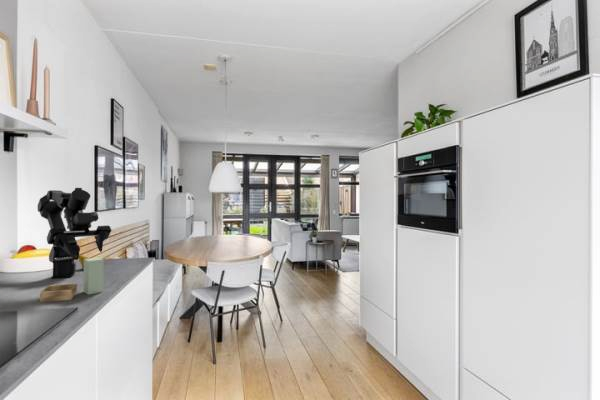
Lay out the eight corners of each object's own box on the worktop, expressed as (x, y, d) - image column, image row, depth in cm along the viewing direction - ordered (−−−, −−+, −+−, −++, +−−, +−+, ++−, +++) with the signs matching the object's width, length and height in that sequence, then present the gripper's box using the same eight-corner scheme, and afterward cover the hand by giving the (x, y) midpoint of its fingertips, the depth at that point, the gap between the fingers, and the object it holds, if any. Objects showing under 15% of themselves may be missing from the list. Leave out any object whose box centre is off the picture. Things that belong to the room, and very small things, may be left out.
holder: (40, 302, 96) (40, 292, 96) (48, 294, 104) (48, 285, 104) (71, 299, 100) (71, 290, 100) (77, 292, 107) (77, 283, 107)
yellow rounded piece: (89, 271, 137) (70, 255, 136) (88, 274, 141) (69, 259, 139) (100, 262, 141) (81, 247, 139) (98, 265, 145) (80, 250, 143)
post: (88, 294, 105) (88, 261, 105) (83, 291, 108) (83, 259, 108) (102, 291, 109) (103, 259, 108) (97, 289, 111) (98, 257, 111)
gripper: (50, 204, 108) (60, 240, 101) (109, 204, 123) (122, 235, 116) (42, 226, 113) (51, 261, 106) (101, 223, 127) (112, 254, 121)
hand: (86, 252), depth 112 cm, fingers open, 9 cm apart
